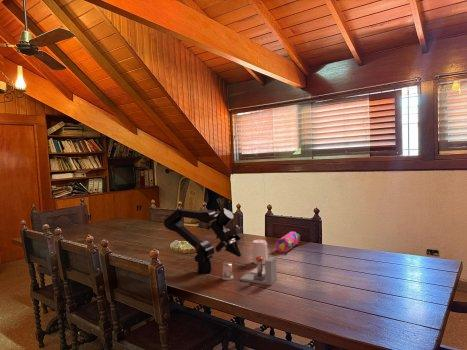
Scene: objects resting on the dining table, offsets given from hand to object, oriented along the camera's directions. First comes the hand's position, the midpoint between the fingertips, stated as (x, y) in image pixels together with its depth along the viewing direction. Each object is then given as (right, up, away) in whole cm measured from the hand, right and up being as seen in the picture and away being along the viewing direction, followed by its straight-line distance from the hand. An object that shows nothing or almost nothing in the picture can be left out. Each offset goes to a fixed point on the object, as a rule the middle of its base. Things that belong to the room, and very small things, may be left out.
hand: (240, 256), depth 160 cm
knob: (-6, -11, +1) cm, 13 cm away
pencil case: (+31, -7, +46) cm, 56 cm away
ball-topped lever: (+9, -9, -4) cm, 14 cm away
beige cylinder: (+11, -9, +21) cm, 26 cm away
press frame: (+11, -10, +1) cm, 15 cm away
